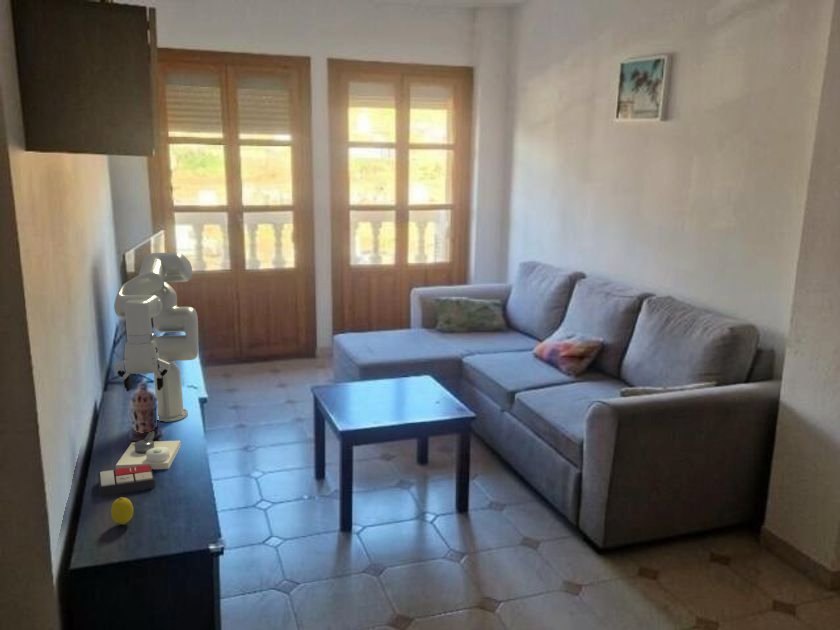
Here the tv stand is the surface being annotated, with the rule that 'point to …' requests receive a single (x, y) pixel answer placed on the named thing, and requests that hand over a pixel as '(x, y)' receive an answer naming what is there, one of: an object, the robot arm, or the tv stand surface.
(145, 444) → the gray scoop
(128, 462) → the base
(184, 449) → the tv stand surface
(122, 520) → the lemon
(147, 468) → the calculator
